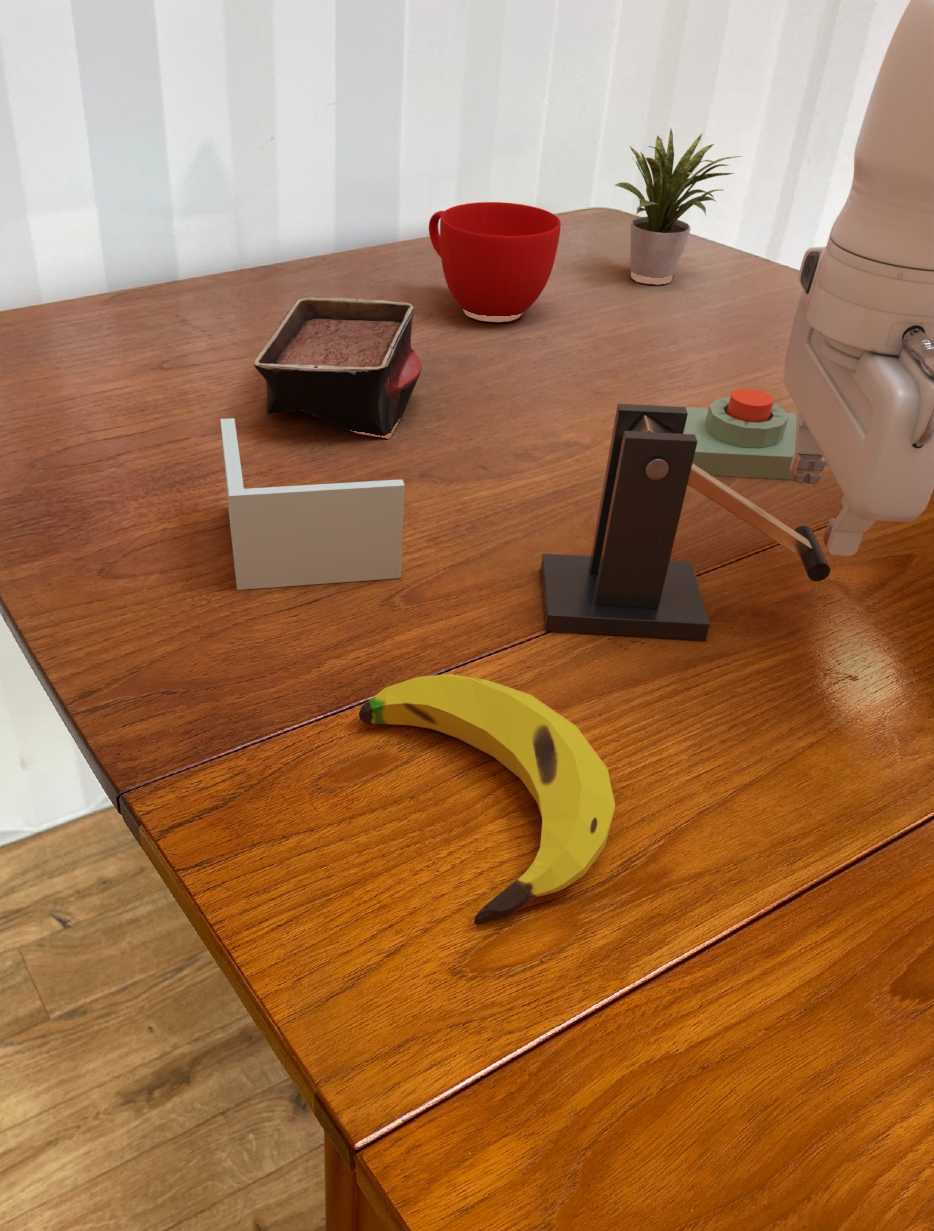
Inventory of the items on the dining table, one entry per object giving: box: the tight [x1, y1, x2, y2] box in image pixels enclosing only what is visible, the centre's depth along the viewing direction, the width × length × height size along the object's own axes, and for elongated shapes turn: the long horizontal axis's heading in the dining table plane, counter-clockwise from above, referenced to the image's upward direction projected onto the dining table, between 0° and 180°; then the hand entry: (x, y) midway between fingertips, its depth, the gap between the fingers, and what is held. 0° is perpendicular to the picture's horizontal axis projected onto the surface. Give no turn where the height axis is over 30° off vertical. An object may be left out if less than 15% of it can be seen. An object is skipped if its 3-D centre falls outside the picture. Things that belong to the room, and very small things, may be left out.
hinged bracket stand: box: [539, 403, 711, 641], centre depth 71 cm, size 11×8×14 cm
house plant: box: [613, 128, 743, 278], centre depth 123 cm, size 14×14×16 cm
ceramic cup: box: [428, 201, 562, 316], centre depth 117 cm, size 13×17×10 cm
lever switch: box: [621, 415, 831, 582], centre depth 69 cm, size 16×5×2 cm, turn 86°
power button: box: [727, 387, 775, 423], centre depth 91 cm, size 4×4×2 cm
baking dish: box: [253, 296, 423, 436], centre depth 97 cm, size 14×18×10 cm
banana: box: [358, 673, 616, 926], centre depth 59 cm, size 5×17×15 cm
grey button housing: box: [683, 396, 798, 481], centre depth 92 cm, size 11×9×4 cm
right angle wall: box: [219, 417, 406, 591], centre depth 78 cm, size 12×12×8 cm
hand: (819, 512), depth 69 cm, fingers open, 8 cm apart
